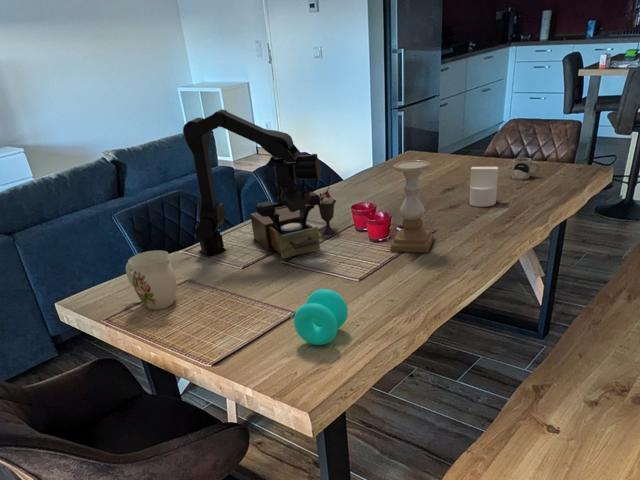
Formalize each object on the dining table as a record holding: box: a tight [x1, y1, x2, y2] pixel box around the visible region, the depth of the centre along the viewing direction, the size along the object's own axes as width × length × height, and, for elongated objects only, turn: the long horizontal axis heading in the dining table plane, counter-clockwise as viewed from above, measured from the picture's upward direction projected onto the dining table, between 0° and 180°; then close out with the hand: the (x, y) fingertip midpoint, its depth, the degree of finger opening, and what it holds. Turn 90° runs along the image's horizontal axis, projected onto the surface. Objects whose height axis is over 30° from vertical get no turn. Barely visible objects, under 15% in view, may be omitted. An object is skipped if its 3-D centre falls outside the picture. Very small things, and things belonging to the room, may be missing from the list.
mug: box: [511, 157, 541, 181], centre depth 219 cm, size 10×7×7 cm, turn 73°
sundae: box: [317, 186, 337, 235], centre depth 184 cm, size 7×7×15 cm
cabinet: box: [249, 207, 300, 252], centre depth 183 cm, size 14×14×9 cm
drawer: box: [267, 219, 321, 259], centre depth 172 cm, size 18×12×7 cm
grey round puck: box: [281, 223, 304, 235], centre depth 172 cm, size 7×7×3 cm
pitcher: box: [125, 249, 178, 310], centre depth 148 cm, size 11×18×14 cm, turn 59°
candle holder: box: [390, 159, 434, 253], centre depth 164 cm, size 11×11×24 cm
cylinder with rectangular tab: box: [468, 166, 499, 208], centre depth 195 cm, size 9×9×12 cm
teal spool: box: [293, 288, 349, 346], centre depth 125 cm, size 10×10×10 cm
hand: (291, 231), depth 173 cm, fingers closed on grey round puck, 7 cm apart
